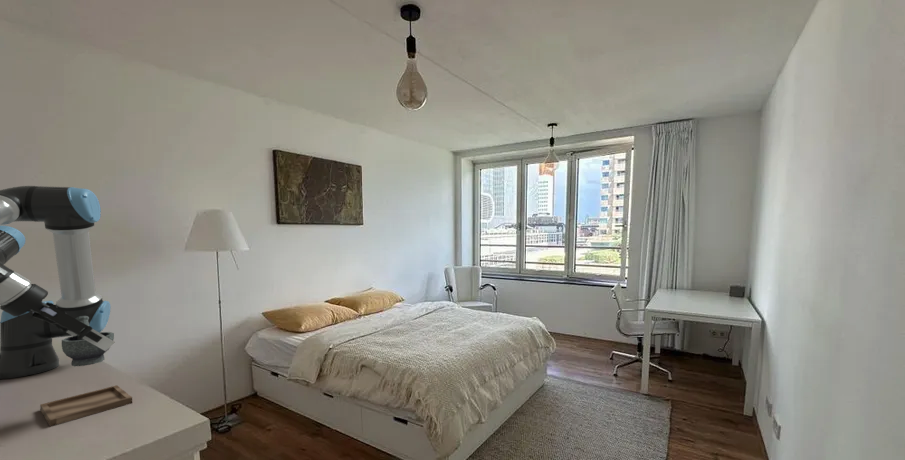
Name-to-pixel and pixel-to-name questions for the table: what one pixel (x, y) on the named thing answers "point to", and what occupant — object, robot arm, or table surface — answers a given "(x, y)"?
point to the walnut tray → (84, 405)
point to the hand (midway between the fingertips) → (101, 343)
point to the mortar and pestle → (84, 348)
